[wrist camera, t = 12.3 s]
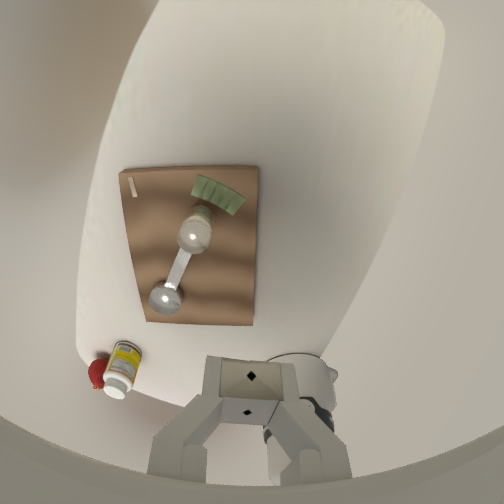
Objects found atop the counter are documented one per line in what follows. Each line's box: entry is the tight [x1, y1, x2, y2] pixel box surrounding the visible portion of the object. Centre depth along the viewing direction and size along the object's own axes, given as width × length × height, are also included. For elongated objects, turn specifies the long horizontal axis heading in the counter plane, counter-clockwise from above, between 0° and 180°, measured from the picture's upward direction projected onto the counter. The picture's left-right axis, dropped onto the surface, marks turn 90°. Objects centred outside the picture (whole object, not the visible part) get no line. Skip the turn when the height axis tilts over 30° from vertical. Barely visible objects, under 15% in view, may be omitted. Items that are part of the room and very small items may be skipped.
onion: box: [88, 359, 109, 391], centre depth 46 cm, size 6×6×8 cm
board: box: [118, 166, 258, 326], centre depth 37 cm, size 23×16×2 cm
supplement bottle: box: [103, 342, 141, 399], centre depth 44 cm, size 6×6×10 cm
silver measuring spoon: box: [149, 205, 215, 315], centre depth 33 cm, size 17×4×6 cm, turn 153°
